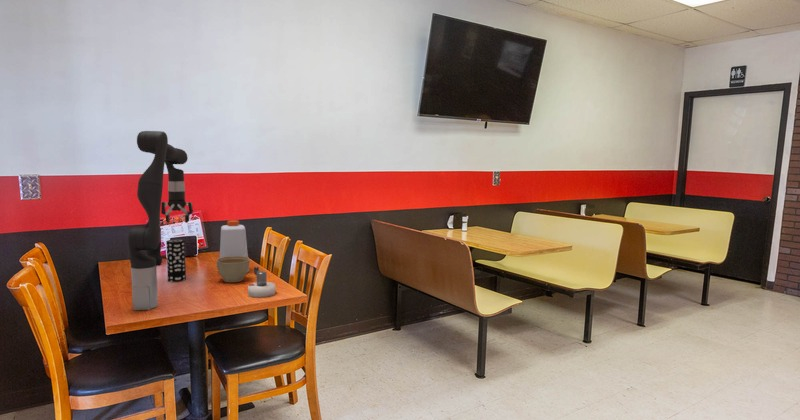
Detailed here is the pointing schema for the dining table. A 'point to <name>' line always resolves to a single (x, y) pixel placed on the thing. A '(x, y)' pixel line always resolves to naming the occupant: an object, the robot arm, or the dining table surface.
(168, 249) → the spotted tube
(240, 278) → the planter bowl
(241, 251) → the plastic bottle
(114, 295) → the dining table surface
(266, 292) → the stand
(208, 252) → the dining table surface
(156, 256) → the cola bottle
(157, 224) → the robot arm
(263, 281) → the capstan lever
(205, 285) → the dining table surface
